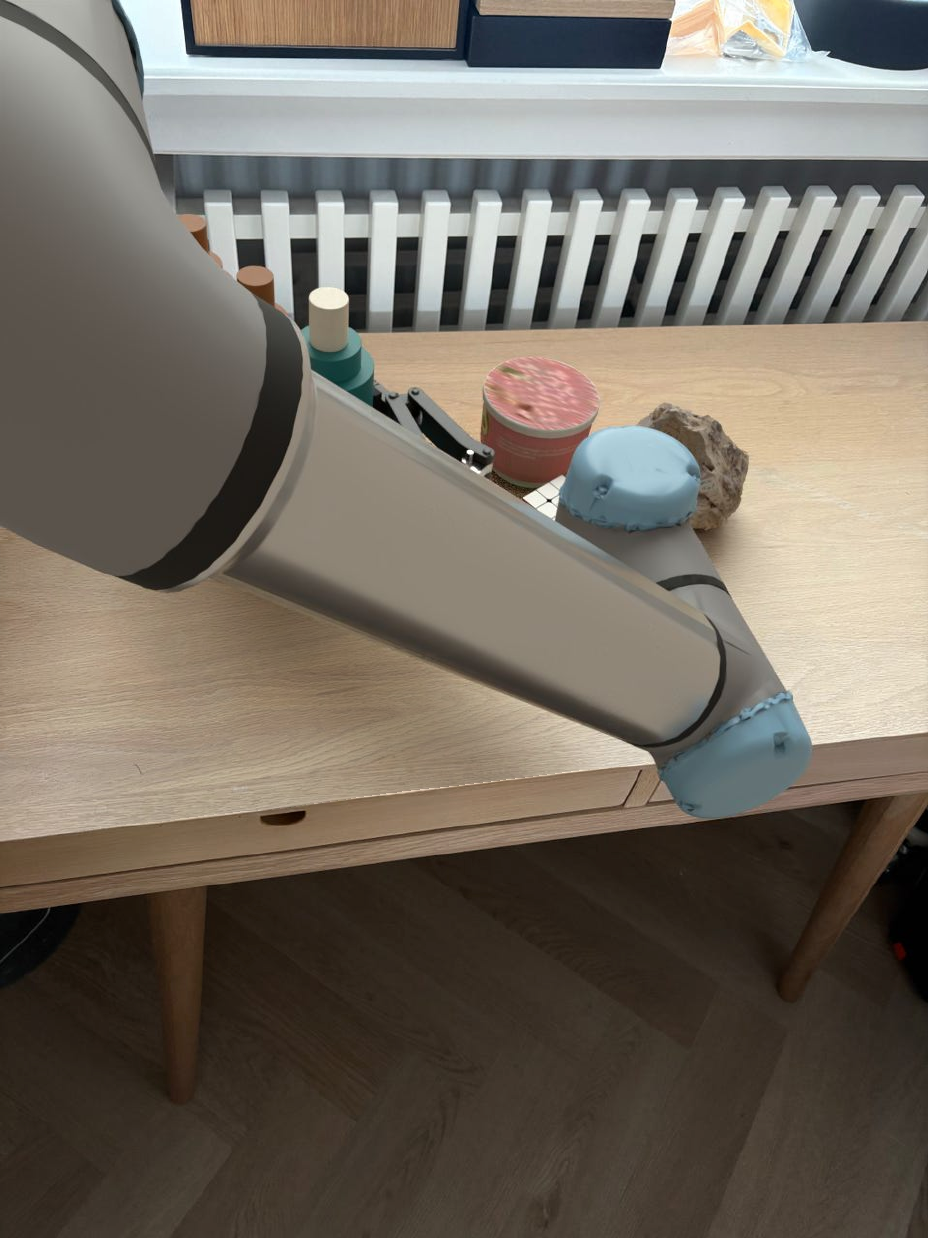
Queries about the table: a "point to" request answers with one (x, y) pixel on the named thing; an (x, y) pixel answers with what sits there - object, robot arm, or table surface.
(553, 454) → the container
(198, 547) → the robot arm
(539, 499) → the rubik's cube
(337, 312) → the bottle
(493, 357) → the table surface
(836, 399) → the table surface
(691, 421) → the rock
